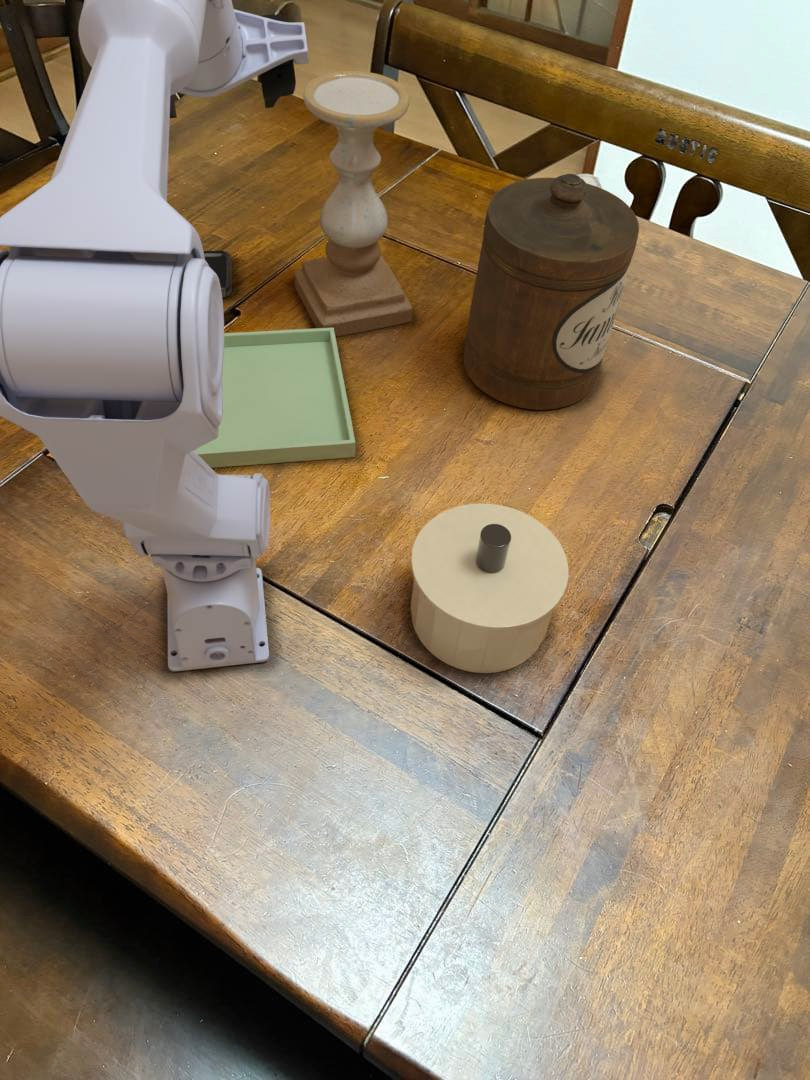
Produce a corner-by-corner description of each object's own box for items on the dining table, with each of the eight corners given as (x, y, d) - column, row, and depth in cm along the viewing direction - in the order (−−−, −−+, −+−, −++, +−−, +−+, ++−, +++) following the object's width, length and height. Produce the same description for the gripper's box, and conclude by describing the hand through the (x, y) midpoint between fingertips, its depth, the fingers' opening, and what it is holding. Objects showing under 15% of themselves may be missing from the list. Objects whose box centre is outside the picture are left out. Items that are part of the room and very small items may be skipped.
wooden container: (582, 426, 95) (637, 237, 78) (446, 389, 97) (470, 197, 80) (608, 343, 104) (663, 158, 87) (483, 311, 106) (513, 124, 89)
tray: (355, 457, 90) (355, 442, 88) (188, 469, 87) (186, 454, 86) (333, 342, 101) (333, 327, 99) (185, 350, 98) (183, 335, 97)
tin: (561, 665, 76) (579, 617, 70) (424, 680, 74) (431, 633, 69) (526, 556, 83) (540, 506, 78) (401, 568, 81) (406, 517, 76)
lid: (585, 626, 71) (598, 592, 67) (425, 643, 69) (430, 609, 65) (543, 505, 79) (552, 470, 75) (398, 518, 77) (401, 482, 73)
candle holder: (413, 321, 104) (431, 112, 86) (322, 339, 101) (320, 126, 83) (379, 268, 110) (389, 62, 92) (292, 283, 107) (284, 74, 89)
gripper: (294, -61, 58) (304, 37, 72) (64, -38, 57) (118, 56, 71) (309, 54, 59) (316, 130, 72) (82, 78, 58) (132, 150, 72)
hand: (219, 99), depth 72 cm, fingers open, 7 cm apart
